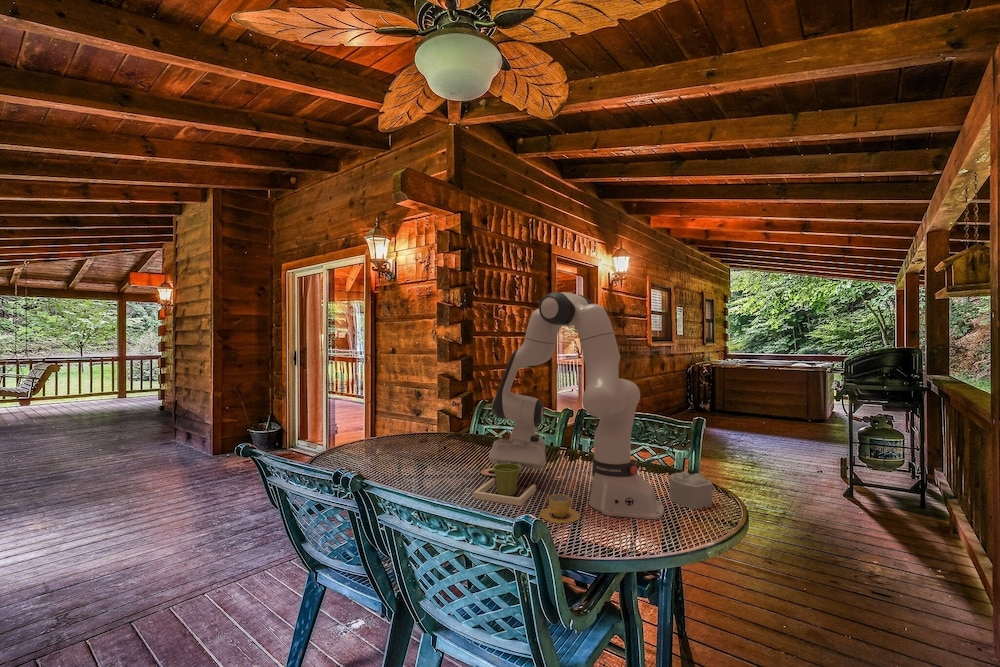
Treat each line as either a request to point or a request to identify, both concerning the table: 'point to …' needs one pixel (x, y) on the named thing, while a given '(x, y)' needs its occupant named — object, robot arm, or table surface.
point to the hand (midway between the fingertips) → (511, 476)
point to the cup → (559, 509)
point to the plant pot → (506, 478)
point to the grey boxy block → (690, 490)
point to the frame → (501, 498)
